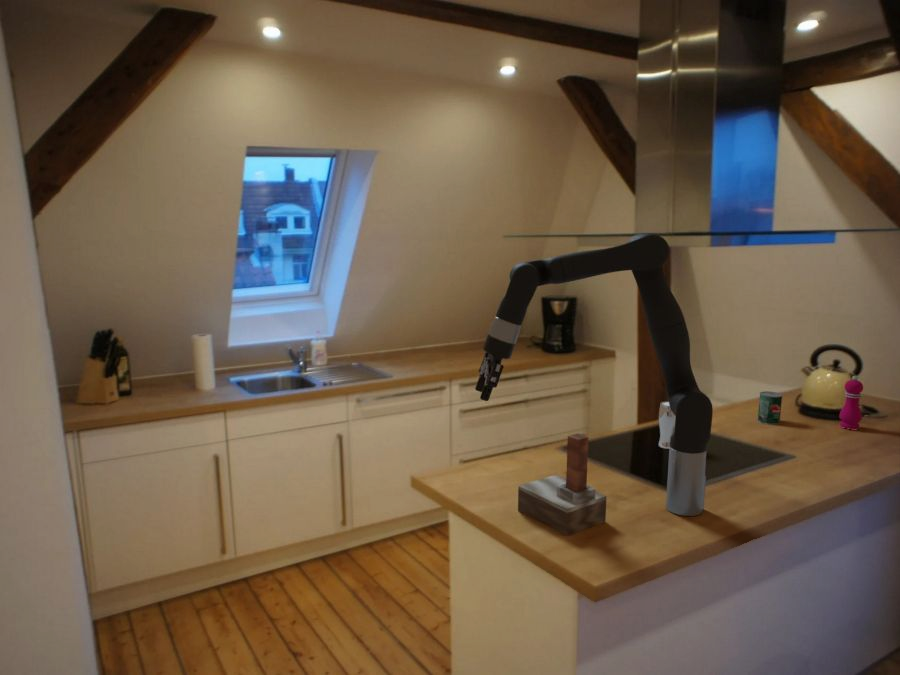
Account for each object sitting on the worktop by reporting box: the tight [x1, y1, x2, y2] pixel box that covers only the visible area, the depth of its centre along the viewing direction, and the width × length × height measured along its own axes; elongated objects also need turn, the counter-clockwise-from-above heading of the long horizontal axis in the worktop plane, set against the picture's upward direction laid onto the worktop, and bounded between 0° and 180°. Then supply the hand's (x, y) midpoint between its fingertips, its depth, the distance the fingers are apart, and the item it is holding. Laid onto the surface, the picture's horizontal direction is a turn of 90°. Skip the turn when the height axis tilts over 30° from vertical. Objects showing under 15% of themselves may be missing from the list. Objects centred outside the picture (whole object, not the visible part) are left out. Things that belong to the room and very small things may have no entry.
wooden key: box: [565, 433, 589, 492], centre depth 170 cm, size 4×4×16 cm
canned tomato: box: [757, 390, 783, 425], centre depth 260 cm, size 8×8×11 cm
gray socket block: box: [517, 474, 607, 537], centre depth 176 cm, size 14×18×10 cm
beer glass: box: [658, 401, 676, 450], centre depth 231 cm, size 7×7×15 cm
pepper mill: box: [839, 375, 864, 429], centre depth 252 cm, size 7×7×20 cm
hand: (481, 395), depth 176 cm, fingers open, 8 cm apart
